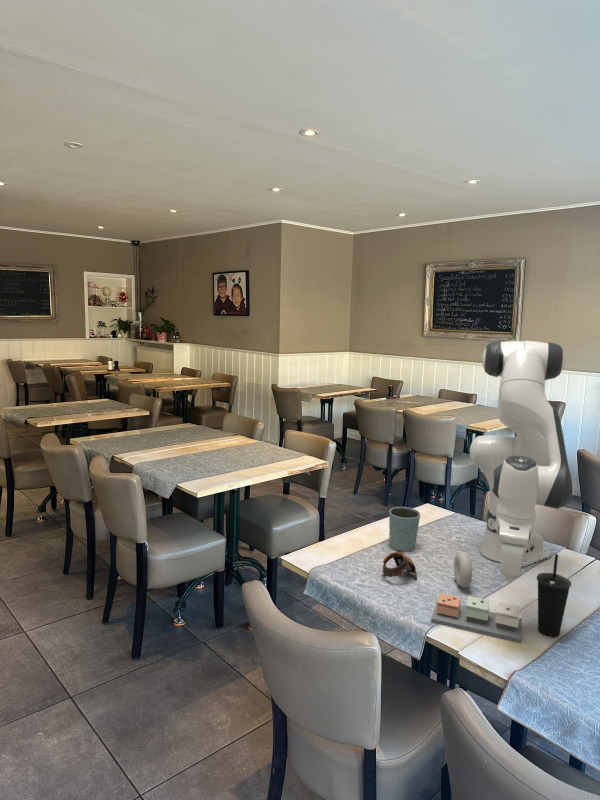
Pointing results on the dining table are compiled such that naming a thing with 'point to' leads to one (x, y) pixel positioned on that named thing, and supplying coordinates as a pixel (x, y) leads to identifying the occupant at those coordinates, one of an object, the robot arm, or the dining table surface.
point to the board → (479, 625)
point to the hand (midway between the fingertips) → (509, 578)
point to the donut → (463, 569)
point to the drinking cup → (551, 601)
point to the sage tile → (477, 608)
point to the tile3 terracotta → (448, 605)
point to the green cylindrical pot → (403, 528)
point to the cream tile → (507, 614)
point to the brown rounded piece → (399, 565)
